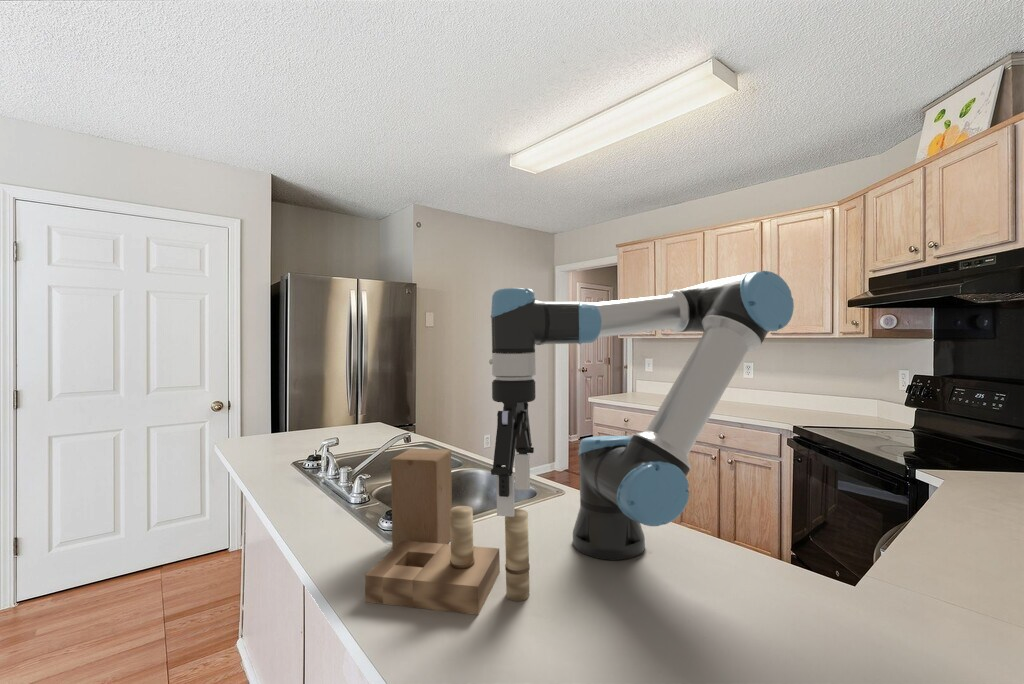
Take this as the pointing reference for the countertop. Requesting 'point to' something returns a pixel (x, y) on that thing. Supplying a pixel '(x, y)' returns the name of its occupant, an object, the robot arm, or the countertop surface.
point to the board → (437, 571)
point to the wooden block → (421, 496)
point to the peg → (517, 556)
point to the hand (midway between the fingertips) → (514, 501)
